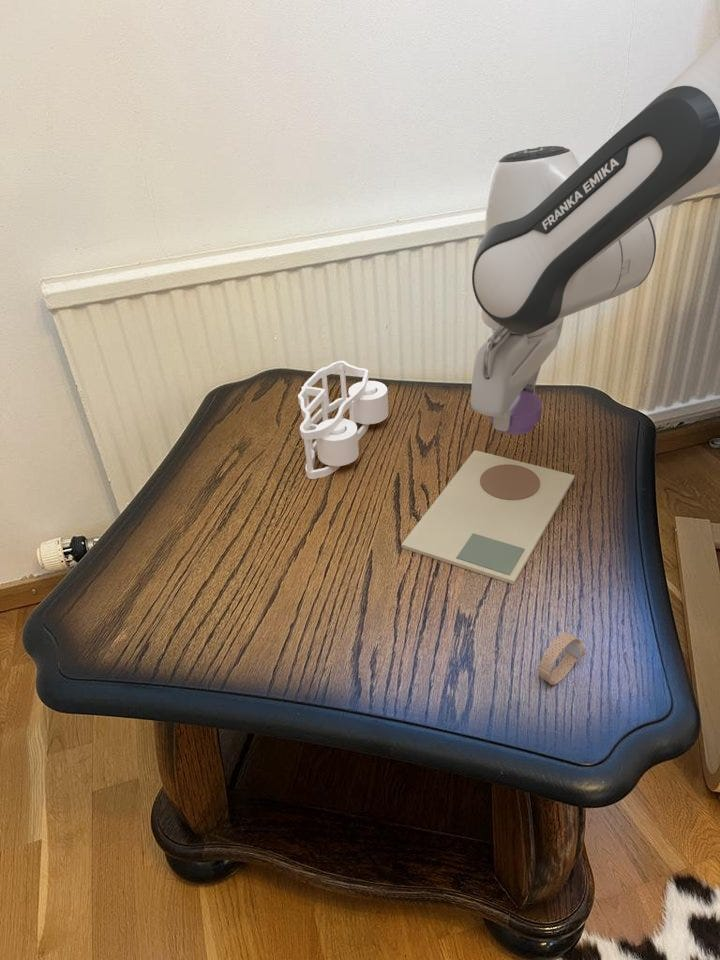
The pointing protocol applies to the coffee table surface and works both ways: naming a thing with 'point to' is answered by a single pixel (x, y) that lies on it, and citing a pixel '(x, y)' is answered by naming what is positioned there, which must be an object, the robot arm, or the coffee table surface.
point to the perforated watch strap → (560, 672)
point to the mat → (490, 516)
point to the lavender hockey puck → (523, 413)
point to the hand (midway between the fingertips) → (514, 411)
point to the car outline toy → (339, 417)
